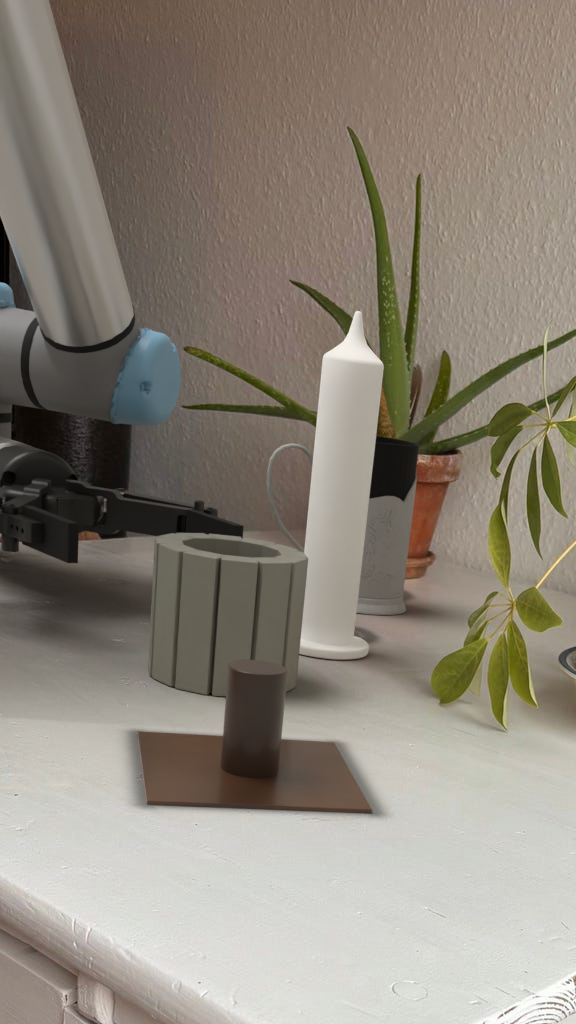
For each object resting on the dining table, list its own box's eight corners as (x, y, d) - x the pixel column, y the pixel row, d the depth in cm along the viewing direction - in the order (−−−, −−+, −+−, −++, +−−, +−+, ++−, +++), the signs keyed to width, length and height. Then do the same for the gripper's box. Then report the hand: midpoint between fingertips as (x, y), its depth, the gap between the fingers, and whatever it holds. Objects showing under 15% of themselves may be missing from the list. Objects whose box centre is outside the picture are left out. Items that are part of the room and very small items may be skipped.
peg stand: (145, 829, 62) (152, 688, 59) (136, 756, 71) (142, 632, 69) (369, 837, 65) (385, 704, 63) (331, 766, 75) (344, 648, 72)
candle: (293, 658, 98) (327, 304, 89) (268, 635, 104) (297, 301, 95) (380, 661, 101) (421, 320, 92) (351, 639, 107) (387, 316, 98)
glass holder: (418, 617, 119) (440, 450, 114) (269, 608, 114) (284, 431, 108) (388, 596, 127) (407, 439, 121) (246, 587, 121) (259, 420, 116)
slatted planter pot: (152, 692, 84) (159, 553, 81) (145, 654, 93) (152, 527, 89) (304, 702, 87) (317, 568, 84) (284, 664, 96) (295, 542, 92)
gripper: (149, 537, 116) (293, 591, 103) (-137, 536, 98) (-7, 600, 85) (153, 451, 113) (302, 495, 100) (-140, 434, 96) (-7, 484, 83)
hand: (160, 543), depth 93 cm, fingers open, 13 cm apart
